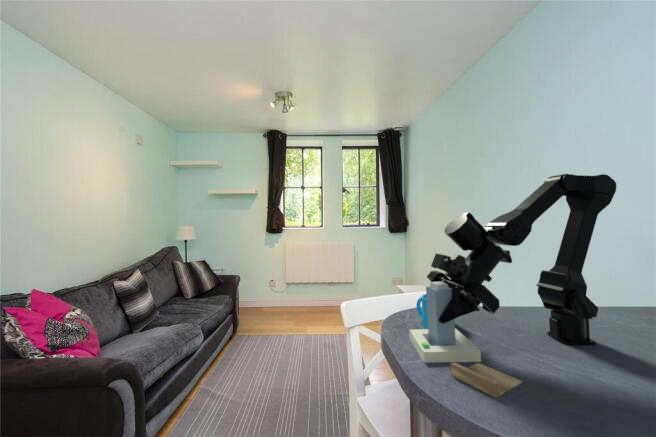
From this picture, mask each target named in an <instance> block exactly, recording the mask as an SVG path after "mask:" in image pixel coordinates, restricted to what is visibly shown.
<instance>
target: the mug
mask: <svg viewBox="0 0 656 437" xmlns="http://www.w3.org/2000/svg"><path fill="white" fill-rule="evenodd" d="M415 306H416V311H417V312H418V313H417V314H418V315H419V316H420V317H421V319H422V327H423V328H422V329H428V316H427V295H426V294H422V295H421V297H419V298H418V299H417V301H416V305H415ZM455 319H456V318H455ZM455 319H454V321H455V322H456V320H455Z"/></svg>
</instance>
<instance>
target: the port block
mask: <svg viewBox="0 0 656 437" xmlns="http://www.w3.org/2000/svg"><path fill="white" fill-rule="evenodd" d="M408 331H409V333H408V335H409V339H410V341H411V343H412V345H413V346H414V348H415V350H416V351H417V353H418V354H419V356H420V359H421V360H422V362H423V363H429V364H430V363H454V362H455V363H480V362H482V350H480V349H479V348H478V347H477V346H476V345H474V343H473V342H471V340H470V339H468V337H466V336H465V335H464V334H463V333H462V332H460V331H459V330H458V329H457V328H455V341H456V345H454V346H431V345H430V344H429V337H428V329H424V328H418V329H417V328H416V329H415V328H414V329H412V328H411V329H409V330H408Z"/></svg>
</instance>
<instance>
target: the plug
mask: <svg viewBox="0 0 656 437" xmlns="http://www.w3.org/2000/svg"><path fill="white" fill-rule="evenodd" d="M425 290H426V291H425V292H426V295H427V316H428V337H429V344H430V345H431V346H454V345H456V341H455V329H456V320H455V321H454V319H453V320H451V321H448V322H446V323H444V324H442V323H440V322H439V318H440V316H441V314H442V313H443V311H444V310H445V308H446V307H447V305H448V304H449V302H450V301H451V299H452V289H451V288H449V287H448V284H446V283H443V282H441V281H438V282H431V281H430V283H429V285H428V286H425Z"/></svg>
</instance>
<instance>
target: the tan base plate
mask: <svg viewBox="0 0 656 437" xmlns="http://www.w3.org/2000/svg"><path fill="white" fill-rule="evenodd" d="M450 373H451V374H450V375H451V377H454V378H456V379H458V380H460V381H462V382H464V383H466V384H468V385H470V386H472V387H474V388H476V389H478V390H480V391H482V392H484V393H486V394H488V395H490V396H492V397H494V398H499V397H500V396H501V395H503V394H505V393H507V392H508V391H510V390H512V389H513V388H515V387H518V385H520V384H522V383H523V382H524V381H523V380H521V379H518V378H516V377H514V376H512V375H511V376H510V375H509V374H506V373H504V372H502V371H499V370H497V369H494V368H492V367H489V366H487V365H484V364H482V363H480V362H475V364H472V365H470V366H468V367H466V366H464V365H462V364H459V363H458V362H451V363H450Z"/></svg>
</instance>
